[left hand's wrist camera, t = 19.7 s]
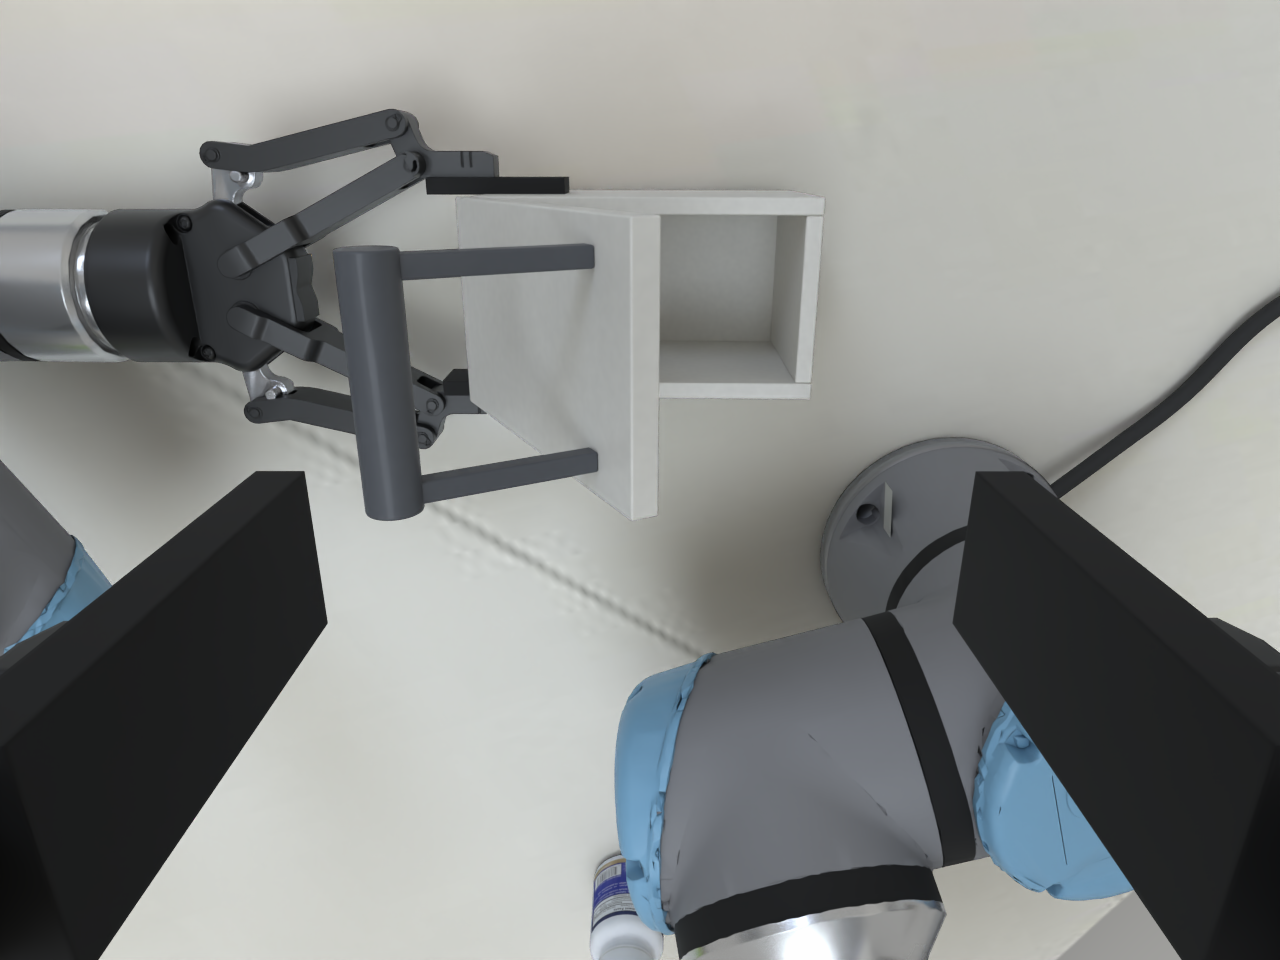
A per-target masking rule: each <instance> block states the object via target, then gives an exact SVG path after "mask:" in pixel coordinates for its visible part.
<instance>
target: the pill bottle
mask: <svg viewBox="0 0 1280 960" xmlns="http://www.w3.org/2000/svg"><path fill="white" fill-rule="evenodd" d="M663 943H664V940H663V933H661V932H658V931H653V930H651V929H650V928H648V927H647V926H646V925H645V924H644V923H643V922H642V921H641V920H640V918H639V916H638V914H637V913H636V910H635V908H634V905H633V903H632V900H631V897H630V893H629V889H628V885H627V881H626V858H624V857H623V856H622V855H618V856H615V857H612V858H610V859H608V860H606V861H605V862H604V863H602V864H601V865H600V866H599V868H598V869H597V871H596V873H595V876H594V881H593V902H592V918H591V932H590V953H591V956H592V959H593V960H660V958H661V956H662V953H663Z"/></svg>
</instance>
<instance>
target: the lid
mask: <svg viewBox="0 0 1280 960" xmlns="http://www.w3.org/2000/svg"><path fill="white" fill-rule="evenodd" d="M455 200H456V214H457V227H458V241H459V249H447V250H425V251H403V252H399V249H398V248H397V247H393V246H350V247H340V248H336V249H334V250H333V259H334V267H335V275H336V283H337V291H338V299H339V306H340V314H341V322H342V330H343V338H344V346H345V354H346V362H347V370H348V378H349V385H350V393H351V401H352V409H353V417H354V425H355V433H356V441H357V449H358V456H359V464H360V472H361V480H362V488H363V496H364V504H365V512H366V514H367V516H368V517H370V518H372V519H375V520H382V521H394V520H402V519H406V518H410V517H413V516H415V515H417V514H419V513H420V512H422V510H423V509H424V504H425V503H430V502H436V501H441V500H447V499H452V498H457V497H463V496H468V495H474V494H479V493H485V492H490V491H496V490H501V489H506V488H512V487H517V486H523V485H528V484H534V483H539V482H545V481H550V480H555V479H561V478H566V477H573V478H574V479H576V480H577V481H578V482H580V483H581V484H582V485H584V486H585V487H586V488H588V489H589V490H590V491H592V492H593V493H594V494H596V495H597V496H598V497H600V498H601V499H602V500H604V501H605V502H606V503H608V504H609V505H611V506H612V507H613V508H615V509H616V510H617V511H619V512H620V513H621V514H623V515H624V516H625V517H627V518H628V519H629V520H631V521H636V520H640V519H645V518H650V517H654V516H657V515H658V467H659V361H660V255H661V217H660V215H656V214H646V213H636V212H626V211H616V210H606V209H596V208H586V207H576V206H565V205H555V204H545V203H535V202H525V201H515V200H505V199H495V198H485V197H456V199H455ZM450 277H461V281H462V295H463V308H464V322H465V335H466V349H467V362H468V376H469V389H470V400H471V402H473V403H474V404H475V405H477V406H478V407H479V408H481V409H482V410H483V411H485V412H486V413H487V414H489V415H490V416H491V417H493V418H494V419H495V420H497V421H498V422H499V423H501V424H502V425H503V426H505V427H506V428H507V429H509V430H510V431H511V432H513V433H514V434H515V435H517V436H518V437H519V438H521V439H522V440H523V441H525V442H526V443H528V444H529V445H530V446H532V447H533V448H534V449H536V450H537V451H538V452H540V453H541V454H542V455H540V456H534V457H528V458H522V459H516V460H510V461H504V462H498V463H492V464H486V465H480V466H475V467H469V468H463V469H457V470H451V471H445V472H439V473H433V474H427V475H421V466H420V456H419V445H418V435H417V425H416V415H415V405H414V395H413V385H412V375H411V365H410V355H409V344H408V334H407V324H406V314H405V304H404V294H403V284H402V280H417V279H433V278H450Z"/></svg>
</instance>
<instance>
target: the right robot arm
mask: <svg viewBox="0 0 1280 960" xmlns="http://www.w3.org/2000/svg"><path fill="white" fill-rule="evenodd" d="M387 144H391V145H392V147H393V150H394V152H395V154H396V157H395V158H393V159H391V160H390V161H388V162H386V163H384V164H383V165H381V166H379V167H377V168H376V169H374V170H372V171H371V172H369V173H367V174H365V175H364V176H362V177H360V178H358V179H357V180H355V181H353V182H351V183H350V184H348V185H346V186H344V187H343V188H341V189H339V190H337V191H336V192H334V193H332V194H330V195H329V196H327V197H325V198H323V199H322V200H320V201H318V202H317V203H315V204H313V205H311V206H310V207H308V208H306V209H304V210H303V211H301V212H299V213H297V214H295V215H293V216H291V217H288V218H286V219H284V220H282V221H280V222H279V223H277V224H274V223H273V222H272V221H270V220H269V219H267V218H266V217H264V216H263V215H261V214H260V213H258V212H257V211H255V210H254V209H252V208H251V207H250V206H248V205H247V204H245V203H244V202H242V196H243V194H244V193H245V192H246V191H247V190H249V189H253V188H257V187H259V186H260V185H261V184H262V181H263V172H280V171H285V170H290V169H294V168H298V167H302V166H305V165H309V164H313V163H317V162H321V161H325V160H329V159H333V158H336V157H340V156H344V155H348V154H352V153H356V152H360V151H364V150H367V149H371V148H375V147H379V146H383V145H387ZM199 154H200V158H201V160H202V161H203V163H204V164H205V165H206V166H208V167H210V168H211V171H212V188H213V200H212V201H209V202H207V203H206V204H205V205H203V206H201V207H199V208H197V209H118V210H114V211H111V212H107V211H105V210H102V209H18V210H1V211H0V361H53V362H123V361H128V360H130V359H131V360H134V361H138V362H218V363H223V364H226V365H228V366H230V367H232V368H234V369H236V370H239V371H242V372H243V375H244V379H245V382H246V386H247V389H248V393H249V396H250V399H251V401H250V402H249V403H247V404H246V405H245V408H244V414H245V416H246V418H247V419H248V420H249V421H251V422H253V423H268V422H276V421H285V420H293V421H297V422H302V423H306V424H311V425H315V426H320V427H324V428H329V429H333V430H338V431H343V432H347V433H352V434H356V433H355V425H354V417H353V409H352V401H351V396H349V395H345V394H340V393H336V392H332V391H327V390H323V389H318V388H312V387H294V383H293V381H292V380H290V379H288V378H286V377H282V376H277V375H275V374H274V373H272V372H271V370H270V369H269V367H268V364H269V363H271V362H272V361H273V360H274V359H276V358H277V357H278V356H279V355H281V354H282V353H283V352H284V351H285V352H287V353H289V354H291V355H293V356H295V357H297V358H299V359H302V360H305V361H310V362H316V363H318V364H321V365H323V366H325V367H327V368H329V369H331V370H333V371H335V372H338V373H340V374H342V375H344V376H346V377H348V370H347V362H346V354H345V346H344V338H343V334H342V333H340V332H339V331H338V329H337V328H336V327H334V326H332V325H330V324H328V323H326V322H324V321H322V320H320V319H318V318H316V316H318V315H319V308H318V301H317V298H316V295H315V293H314V290H313V288H312V285H311V283H312V275H313V264H312V256H311V254H307V252H306V250H305V248H306V247H308V246H309V245H311V244H313V243H315V242H316V241H318V240H320V239H322V238H323V237H325V236H326V235H327V234H329V233H330V232H332V231H334V230H336V229H337V228H339V227H341V226H343V225H344V224H346V223H348V222H350V221H352V220H353V219H355V218H357V217H359V216H360V215H362V214H364V213H366V212H367V211H369V210H371V209H373V208H375V207H376V206H378V205H380V204H382V203H383V202H385V201H387V200H389V199H390V198H392V197H394V196H396V195H398V194H399V193H401V192H403V191H405V190H406V189H408V188H410V187H412V186H413V185H415V184H417V183H419V182H421V181H422V180H424V179H426V190H427V194H567V193H569V177H499V163H498V156H497V155H494V154H492V153H490V152H486V151H435V150H432V149H431V148H429V147H428V146H427V145H426V144H425V142H424V140H423V138H422V135H421V133H420V131H419V124H418V121H417V119H416V117H415V116H414V115H413V114H411V113H408V112H405V111H400V110H396V109H387V110H383V111H380V112H376V113H372V114H368V115H364V116H360V117H357V118H353V119H349V120H345V121H341V122H337V123H334V124H330V125H326V126H322V127H318V128H314V129H311V130H307V131H303V132H299V133H295V134H292V135H288V136H284V137H280V138H276V139H272V140H269V141H265V142H261V143H257V144H253V145H251V144H243V143H235V142H217V141H208V142H205V143H204V144H202V146H201V148H200V153H199ZM411 375H412V385H413V395H414V405H415V409H416V410H418V411H416V410H415V415H416V425H417V435H418V445H419V448H420V449H427V448H430V447H431V446H432V445H433V443H434V442H435V441H436V439H437V438H438V437H439V435H440V434H441V433H442V431H443V429H444V422H445V419H446V416H447V415H450V414H487V413H486V412H485V411H483V410H482V409H481V408H479V407H478V406H477V405H475V404H474V403H473V402H471V400H470V389H469V376H468V369H453V370H452V372H451V373H450V374H449V375H448V376H447V377H446V378H445V379H444V380H443V381H441V380H438V379H436V378H434V377H432V376H430V375H428V374H426V373H424V372H422V371H420V370H418V369H415V368H413V367H411ZM110 587H112V585H111V584H110V582H109V581H108V580H107V578H106V577H105V576H104V574H103V573H102V572H101V570H100V569H99V568H98V567H97V565H96V564H95V563H94V561H93V560H92V559H91V557H90V556H89V555H88V554H87V552H86V551H85V550H84V547H83V545H82V543H81V542H80V541H79V540H78V539H77V538H76V537H74V536H73V535H70V534H68V533H67V531H66V530H65V529H64V528H63V527H62V526H61V525H60V524H59V523H58V522H57V521H56V520H55V518H54V517H53V516H52V515H51V514H50V513H49V512H48V511H47V510H46V509H45V508H44V507H43V506H42V504H41V503H40V502H39V501H38V500H37V499H36V498H35V497H34V496H33V495H32V494H31V493H30V491H29V490H28V489H27V488H26V487H25V486H24V485H23V484H22V483H21V482H20V481H19V480H18V479H17V477H16V476H15V475H14V474H13V473H12V472H11V471H10V470H9V469H8V468H7V467H6V466H5V464H4V463H3V462H2V461H1V460H0V657H1V656H2V655H3V654H4V653H6V652H7V651H8V650H10V649H11V648H12V647H14V646H15V645H16V644H17V643H19V642H21V641H23V640H26V639H28V638H30V637H32V636H34V635H36V634H38V633H40V632H42V631H44V630H46V629H48V628H50V627H52V626H54V625H56V624H58V623H60V622H62V621H69V620H70V619H71V618H73V617H74V616H75V615H76V614H78V613H79V612H80V611H81V610H83V609H84V608H85V607H86V606H88V605H89V604H90V603H91V602H93V601H94V600H95V599H96V598H98V597H99V596H100V595H101V594H103V593H104V592H105V591H107V590H108V589H109V588H110Z"/></svg>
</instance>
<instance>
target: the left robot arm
mask: <svg viewBox="0 0 1280 960" xmlns="http://www.w3.org/2000/svg"><path fill="white" fill-rule="evenodd" d="M1279 316H1280V296H1279V297H1277V298H1276V299H1274V300H1273V301H1272V302H1270V303H1269V304H1267V305H1266V306H1264V307H1263V308H1262V309H1261V310H1259V311H1258V312H1257V313H1255V314H1254V315H1253V316H1252V317H1250V318H1249V319H1248V320H1247V321H1246V322H1244V323H1243V324H1242V325H1241V326H1240V327H1239V328H1238V329H1237V330H1236V331H1234V332H1233V333H1232V334H1231V335H1230V336H1229V337H1228V338H1227V339H1226V340H1225V341H1224V342H1223V343H1222V344H1221V345H1220V346H1219V347H1218V348H1217V350H1216V351H1215V352H1214V353H1213V354H1212V355H1211V356H1210V357H1209V358H1208V359H1207V360H1206V361H1205V362H1204V363H1203V364H1202V365H1201V366H1200V367H1199V368H1198V369H1197V370H1196V371H1195V373H1194V374H1193V375H1192V376H1191V377H1190V378H1189V379H1187V380H1186V381H1185V382H1184V383H1183V384H1182V385H1181V386H1180V387H1179V388H1178V389H1177V390H1176V391H1175V392H1174V393H1172V394H1171V395H1170V396H1169V397H1168V398H1167V399H1165V400H1164V401H1163V402H1162V403H1161V404H1159V405H1158V406H1157V407H1156V408H1154V409H1153V410H1152V411H1151V412H1149V413H1148V414H1147V415H1145V416H1144V417H1143V418H1141V419H1140V420H1139V421H1137V422H1136V423H1134V424H1133V425H1132V426H1130V427H1129V428H1128V429H1126V430H1125V431H1123V432H1122V433H1121V434H1119V435H1118V436H1116V437H1115V438H1114V439H1112V440H1111V441H1110V442H1108V443H1107V444H1106V445H1104V446H1103V447H1102V448H1100V449H1099V450H1098V451H1096V452H1095V453H1093V454H1092V455H1091V456H1089V457H1088V458H1087V459H1085V460H1084V461H1083V462H1081V463H1080V464H1079V465H1077V466H1076V467H1074V468H1073V469H1072V470H1070V471H1069V472H1068V473H1066V474H1065V475H1064V476H1062V477H1061V478H1059V479H1058V480H1057V481H1055V482H1054V483H1053V484H1051V485H1049V483H1048V482H1047V481H1046V480H1045V479H1044V478H1043V477H1042V476H1041V475H1040V474H1039V473H1038V472H1037V471H1036V470H1035V469H1033V468H1032V467H1031V466H1029V465H1028V464H1027V463H1026V462H1024V461H1023V460H1022V459H1020V458H1019V457H1018V456H1016V455H1015V454H1013V453H1011V452H1009V451H1008V450H1006V449H1004V448H1001V447H999V446H997V445H994V444H991V443H988V442H984V441H980V440H975V439H968V438H938V439H932V440H926V441H922V442H918V443H914V444H911V445H909V446H906V447H903V448H901V449H898V450H896V451H894V452H892V453H890V454H888V455H886V456H884V457H883V458H881V459H879V460H878V461H876V462H875V463H873V464H872V465H871V466H869V467H868V468H867V469H866V470H864V471H863V472H862V473H861V474H860V475H859V476H858V477H857V478H856V479H855V480H854V481H853V482H852V483H851V484H850V485H849V486H848V487H847V489H846V490H845V491H844V492H843V494H842V495H841V497H840V498H839V499H838V501H837V503H836V504H835V506H834V508H833V510H832V512H831V514H830V516H829V519H828V521H827V524H826V527H825V530H824V534H823V538H822V545H821V570H822V575H823V580H824V583H825V586H826V589H827V592H828V594H829V597H830V599H831V601H832V603H833V605H834V608H835V610H836V612H837V613H838V615H839V617H840V618H841V620H842V621H843V623H839V624H835V625H831V626H827V627H824V628H820V629H816V630H812V631H808V632H804V633H800V634H796V635H792V636H788V637H784V638H780V639H776V640H772V641H768V642H764V643H760V644H756V645H752V646H748V647H744V648H740V649H736V650H732V651H729V652H725V653H721V654H715V653H713V652H712V653H708V654H705V655H703V656H701V657H700V658H698V659H697V660H696V662H693V663H689V664H686V665H683V666H680V667H677V668H674V669H670V670H667V671H664V672H661V673H658V674H655V675H652V676H650V677H648V678H646V679H644V680H643V681H642V682H641V683H639V684H638V685H637V686H636V687H635V689H634V690H633V692H632V693H631V695H630V696H629V698H628V700H627V703H626V705H625V707H624V710H623V711H622V715H621V718H620V723H619V727H618V733H617V741H616V753H615V804H616V820H617V830H618V839H619V846H620V850H621V854H622V856H623V857H624V858H626V881H627V885H628V889H629V893H630V897H631V900H632V903H633V905H634V908H635V910H636V913H637V914H638V916H639V918H640V920H641V921H642V922H643V923H644V924H645V925H646V926H647V927H648V928H650V929H651V930H653V931H658V932H661V933H663V934H665V935H671V934H675V936H676V942H677V948H678V954H679V960H928V957H929V954H930V952H931V950H932V947H933V945H934V943H935V940H936V938H937V936H938V933H939V931H940V929H941V926H942V924H943V922H944V919H945V917H946V915H947V914H946V911H945V907H944V904H943V902H942V899H941V896H940V894H939V891H938V888H937V885H936V882H935V879H934V876H933V873H932V871H933V869H937V868H941V867H945V866H950V865H954V864H959V863H963V862H968V861H972V860H977V859H981V858H985V857H990V856H991V858H992V860H993V862H994V864H995V865H997V866H999V867H1000V869H1001V870H1002V871H1005V872H1006V873H1007V874H1008V875H1009V876H1010V877H1011V878H1013V879H1014V880H1015V881H1016V882H1018V883H1019V884H1021V885H1022V886H1024V887H1025V888H1027V889H1029V890H1032V891H1035V892H1042V891H1044V890H1045V889H1046V890H1047V891H1048V893H1049V894H1050V895H1051V896H1053V897H1054V898H1057V899H1063V900H1091V899H1102V898H1107V897H1112V896H1115V895H1119V894H1122V893H1126V892H1129V891H1132V890H1134V891H1135V892H1136V893H1137V895H1138V896H1139V898H1140V899H1141V901H1142V902H1143V904H1144V905H1145V907H1146V908H1147V910H1148V911H1149V913H1150V914H1151V915H1152V917H1153V918H1154V920H1155V921H1156V923H1157V924H1158V926H1159V927H1160V929H1161V930H1162V932H1163V933H1164V935H1165V936H1166V937H1167V939H1168V940H1169V942H1170V943H1171V945H1172V946H1173V948H1174V949H1175V951H1176V952H1177V954H1178V955H1179V957H1180V958H1181V959H1182V960H1280V653H1279V652H1278V651H1277V650H1275V649H1274V648H1273V647H1271V646H1270V645H1269V644H1267V643H1266V642H1265V641H1264V640H1262V639H1260V638H1257V637H1255V636H1253V635H1251V634H1249V633H1247V632H1245V631H1243V630H1241V629H1239V628H1237V627H1235V626H1233V625H1231V624H1229V623H1227V622H1225V621H1222V620H1220V619H1218V618H1207V617H1206V616H1205V615H1204V614H1202V613H1201V612H1200V611H1199V610H1197V609H1196V608H1195V607H1194V606H1192V605H1191V604H1190V603H1189V602H1187V601H1186V600H1185V599H1184V598H1182V597H1181V596H1180V595H1179V594H1177V593H1176V592H1175V591H1173V590H1172V589H1171V588H1170V587H1168V586H1167V585H1166V584H1165V583H1163V582H1162V581H1161V580H1160V579H1158V578H1157V577H1156V576H1155V575H1153V574H1152V573H1151V572H1150V571H1148V570H1147V569H1146V568H1145V567H1143V566H1142V565H1141V564H1140V563H1138V562H1137V561H1136V560H1135V559H1133V558H1132V557H1131V556H1130V555H1128V554H1127V553H1126V552H1125V551H1123V550H1122V549H1121V548H1120V547H1118V546H1117V545H1116V544H1115V543H1113V542H1112V541H1111V540H1110V539H1108V538H1107V537H1106V536H1105V535H1103V534H1102V533H1101V532H1099V531H1098V530H1097V529H1096V528H1094V527H1093V526H1092V525H1091V524H1089V523H1088V522H1087V521H1086V520H1084V519H1083V518H1082V517H1081V516H1079V515H1078V514H1077V513H1076V512H1074V511H1073V510H1072V509H1071V508H1069V507H1068V506H1067V505H1066V504H1064V503H1063V502H1062V501H1061V500H1059V498H1061V497H1062V496H1063V495H1065V494H1066V493H1068V492H1069V491H1070V490H1072V489H1073V488H1074V487H1076V486H1077V485H1079V484H1080V483H1081V482H1083V481H1084V480H1085V479H1087V478H1088V477H1089V476H1091V475H1092V474H1094V473H1095V472H1096V471H1098V470H1099V469H1100V468H1102V467H1103V466H1104V465H1106V464H1107V463H1108V462H1110V461H1111V460H1113V459H1114V458H1115V457H1117V456H1118V455H1119V454H1121V453H1122V452H1123V451H1125V450H1126V449H1127V448H1129V447H1130V446H1132V445H1133V444H1134V443H1136V442H1137V441H1139V440H1140V439H1141V438H1143V437H1144V436H1145V435H1147V434H1148V433H1150V432H1151V431H1152V430H1154V429H1155V428H1156V427H1158V426H1159V425H1160V424H1162V423H1163V422H1164V421H1166V420H1167V419H1168V418H1169V417H1171V416H1172V415H1173V414H1174V413H1176V412H1177V411H1178V410H1179V409H1180V408H1182V407H1183V406H1184V405H1185V404H1186V403H1187V402H1189V401H1190V400H1191V399H1192V398H1193V397H1194V396H1195V395H1196V394H1197V393H1198V392H1199V391H1201V390H1202V389H1203V388H1204V387H1205V386H1206V385H1207V384H1208V383H1209V382H1210V381H1211V380H1212V379H1213V378H1214V377H1215V376H1216V375H1217V373H1218V372H1219V371H1220V370H1221V369H1222V368H1223V367H1224V366H1225V365H1226V364H1227V363H1228V362H1229V361H1230V360H1231V359H1232V358H1233V357H1234V356H1235V355H1236V354H1237V353H1238V352H1239V351H1240V350H1241V349H1242V348H1243V347H1244V346H1245V345H1246V344H1247V343H1248V342H1249V341H1250V340H1251V339H1252V338H1253V337H1255V336H1256V335H1257V334H1258V333H1259V332H1260V331H1261V330H1263V329H1264V328H1265V327H1266V326H1267V325H1269V324H1270V323H1271V322H1273V321H1274V320H1275V319H1277V318H1278V317H1279ZM327 624H328V622H327V615H326V609H325V602H324V596H323V589H322V583H321V576H320V570H319V563H318V557H317V550H316V544H315V537H314V531H313V524H312V518H311V511H310V505H309V498H308V492H307V485H306V479H305V472H304V471H256V472H254V473H253V474H252V475H251V476H249V477H248V478H247V479H246V480H244V481H243V482H242V483H241V484H239V485H238V486H237V487H236V488H234V489H233V490H232V491H231V492H229V493H228V494H227V495H226V496H224V497H223V498H222V499H221V500H219V501H218V502H217V503H216V504H214V505H213V506H212V507H211V508H209V509H208V510H207V511H206V512H204V513H203V514H202V515H201V516H199V517H198V518H197V519H196V520H194V521H193V522H192V523H191V524H189V525H188V526H187V527H186V528H184V529H183V530H182V531H180V532H179V533H178V534H177V535H175V536H174V537H173V538H172V539H170V540H169V541H168V542H167V543H165V544H164V545H163V546H162V547H160V548H159V549H158V550H157V551H155V552H154V553H153V554H152V555H150V556H149V557H148V558H147V559H145V560H144V561H143V562H142V563H140V564H139V565H138V566H137V567H135V568H134V569H133V570H132V571H130V572H129V573H128V574H127V575H125V576H124V577H123V578H122V579H120V580H119V581H118V582H117V583H115V584H114V585H113V586H112V587H110V588H109V589H108V590H107V591H105V592H104V593H103V594H101V595H100V596H99V597H98V598H96V599H95V600H94V601H93V602H91V603H90V604H89V605H88V606H86V607H85V608H84V609H83V610H81V611H80V612H79V613H78V614H76V615H75V616H74V617H73V618H71V619H70V620H69V621H62V622H60V623H58V624H56V625H54V626H52V627H50V628H48V629H46V630H44V631H42V632H40V633H38V634H36V635H34V636H32V637H30V638H28V639H26V640H23V641H21V642H19V643H17V644H16V645H15V646H14V647H12V648H11V649H10V650H8V651H7V652H6V653H4V654H3V655H2V656H1V657H0V960H98V959H99V958H100V957H101V955H102V954H103V952H104V951H105V949H106V948H107V946H108V945H109V943H110V942H111V940H112V939H113V937H114V936H115V935H116V933H117V932H118V930H119V929H120V927H121V926H122V924H123V923H124V921H125V920H126V918H127V917H128V915H129V914H130V913H131V911H132V910H133V908H134V907H135V905H136V904H137V902H138V901H139V899H140V898H141V896H142V895H143V893H144V892H145V891H146V889H147V888H148V886H149V885H150V883H151V882H152V880H153V879H154V877H155V876H156V874H157V873H158V871H159V870H160V869H161V867H162V866H163V864H164V863H165V861H166V860H167V858H168V857H169V855H170V854H171V852H172V851H173V849H174V848H175V847H176V845H177V844H178V842H179V841H180V839H181V838H182V836H183V835H184V833H185V832H186V830H187V829H188V827H189V826H190V825H191V823H192V822H193V820H194V819H195V817H196V816H197V814H198V813H199V811H200V810H201V808H202V807H203V805H204V804H205V803H206V801H207V800H208V798H209V797H210V795H211V794H212V792H213V791H214V789H215V788H216V786H217V785H218V783H219V782H220V781H221V779H222V778H223V776H224V775H225V773H226V772H227V770H228V769H229V767H230V766H231V764H232V763H233V761H234V760H235V758H236V757H237V756H238V754H239V753H240V751H241V750H242V748H243V747H244V745H245V744H246V742H247V741H248V739H249V738H250V736H251V735H252V734H253V732H254V731H255V729H256V728H257V726H258V725H259V723H260V722H261V720H262V719H263V717H264V716H265V714H266V713H267V712H268V710H269V709H270V707H271V706H272V704H273V703H274V701H275V700H276V698H277V697H278V695H279V694H280V692H281V691H282V690H283V688H284V687H285V685H286V684H287V682H288V681H289V679H290V678H291V676H292V675H293V673H294V672H295V670H296V669H297V668H298V666H299V665H300V663H301V662H302V660H303V659H304V657H305V656H306V654H307V653H308V651H309V650H310V648H311V647H312V646H313V644H314V643H315V641H316V640H317V638H318V637H319V635H320V634H321V632H322V631H323V629H324V628H325V626H326V625H327Z"/></svg>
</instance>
